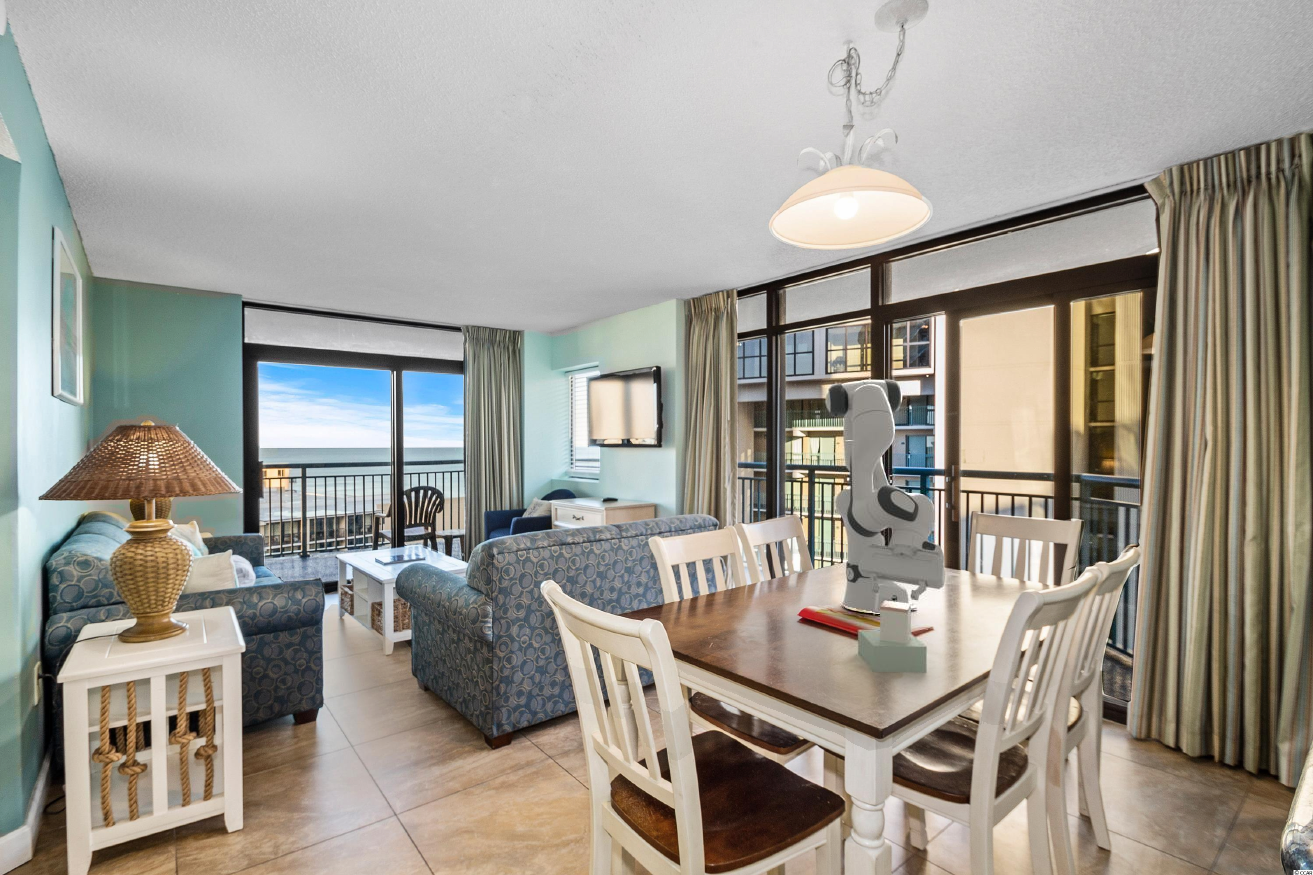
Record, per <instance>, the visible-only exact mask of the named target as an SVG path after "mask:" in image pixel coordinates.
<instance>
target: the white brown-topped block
mask: <svg viewBox="0 0 1313 875" xmlns="http://www.w3.org/2000/svg"><path fill="white" fill-rule="evenodd" d="M879 617H880V618H879V620H880V621H879V630H880V640H883V641H890V642H896V643H903V644H908V642H909V640H910V638H911V634H912V630H911V629H912V625H911V624H912V611H911V604H909V603H901V602H894V601H886V600H885V601H884V602H883V603H882V605H881V606H880V615H879Z"/></svg>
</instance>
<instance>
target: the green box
mask: <svg viewBox="0 0 1313 875" xmlns="http://www.w3.org/2000/svg"><path fill="white" fill-rule="evenodd" d="M857 638H858V639H857V654H859V656H860V657H861V658H862V659H863V661H864V662H865V663H866V664H867V665H868V667H869V668H870V669H871V670H872V672H873V673H874V672H875V673H877V672H880V673H886V672H887V673H927V671H928V669H927V667H928V666H927V665H928V664H927V659H928V658H927V645H925V644H924V643H923V642H922V641H920V640H919V639H918V638H917V637H916V636H914V635H913V634H912V633H911V638H910V640H909V642H908V644H903V643H896V642H890V641H883V640H880V629H858V630H857Z"/></svg>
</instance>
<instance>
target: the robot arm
mask: <svg viewBox="0 0 1313 875" xmlns="http://www.w3.org/2000/svg"><path fill="white" fill-rule="evenodd" d="M902 400H903V392H902V389H901V387H900V384H899V383H898V382H897V381H896V380H894V379H887V378H885V379H864V380H863V379H862V380H858V381H857V380H856V381H850V382H845V383H841V382H839V383H835V384H832V385H831V386H829V388H828V389H827V393H826V395H825V406H826V409H827V410H828V413H829V414H830V415H831V416H832V417H835V418H839V419H840V418H841V419H843V418H844V420H843V432H842V433H843V448H844V465H845V467H846V469H847V470H848V471H849V486H847V487H846V488H844V489H843V490H841V491H839V492H838V493H837V495H836V497H835V502H834V504H835V509H836V511H837V513H838V514H839V516H840V517H841V518H842V520H843V524H844V528H845V532H846V538H847V561H846V564H845V575H846V576H845V577H846V586H845V592H844V593H845V594H844V598H843V601H842V604H843V605H845V606H848V607H852V608H856V609H861V610H866V611H872V612H875V613H880V606H881V605H882V603H883V602H884V601H885V600H886V601H894V602H901V603H909V604H911V610H914V609H917V608H918V607H917V606H916V605H915V604H914V603H912V602H911V601H909V594H908V592H907V589H906V587H904V585H901V584H907V585H913V586H917V588H916V589H911V593H910V599H911V600H915V601H919V597H920V596H921V595H922V594H923V593H925V592H926V590H927V589H928V588H930V589H936V590H940V589H941V588H944V586H945V582H946V581H945V580H946V569H945V568H946V567H945V555H944V552H943V549H942V548H941V546H940V545H938V544H936V543H934V542H931V541H929V536H930V535H931V533H932V531H933V527H934V522H935V515H936V514H935V506H934V503H933V501H932V500H931V499H930V498H929V497H928V496H926V495H925V494H921V493H920V492H919V493H918V492H912V493H910V492H905V491H903V489H901V488H900V487H897V486H895V485H891V484H889V481H888V479H887V476H886V472H885V469H884V464H883V455H884V454H885V453H886V451H887V450H888V449H889V448H890V446H891V445H892V444H893V441H894V440H895V430H896V428H895V420H894V416H893V414H894V413H897V411H898V410H899V409H901V405H902ZM888 528H890V529H891V530H892V534H891V537H890V541H889V543H888V545H885V544H886V540H885V537H884V535H882V533H881V532H882V531H884V530H885V529H888ZM917 610H918V609H917Z"/></svg>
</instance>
